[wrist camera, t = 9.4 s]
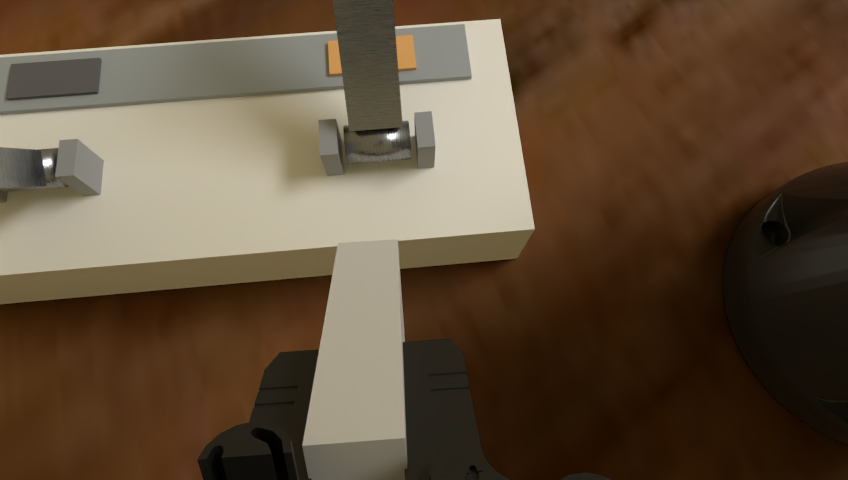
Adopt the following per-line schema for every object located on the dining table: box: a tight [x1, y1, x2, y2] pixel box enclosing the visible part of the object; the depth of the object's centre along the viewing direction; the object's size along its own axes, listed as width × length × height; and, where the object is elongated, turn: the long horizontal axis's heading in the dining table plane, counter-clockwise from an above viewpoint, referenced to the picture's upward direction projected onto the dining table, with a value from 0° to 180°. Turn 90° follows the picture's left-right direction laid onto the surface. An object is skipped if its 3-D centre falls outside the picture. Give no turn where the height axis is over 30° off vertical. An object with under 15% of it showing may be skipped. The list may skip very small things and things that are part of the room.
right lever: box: [333, 0, 412, 164], centre depth 23 cm, size 3×3×13 cm
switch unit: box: [0, 19, 535, 304], centre depth 29 cm, size 30×12×7 cm, turn 95°
